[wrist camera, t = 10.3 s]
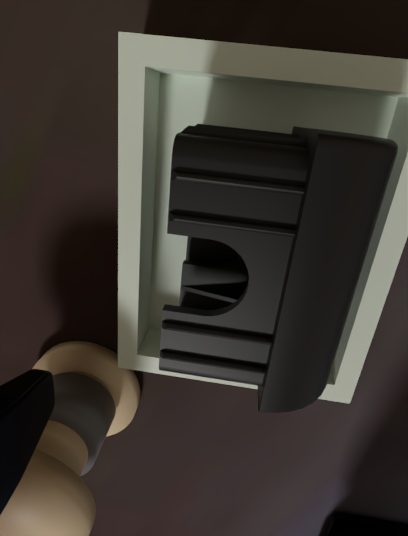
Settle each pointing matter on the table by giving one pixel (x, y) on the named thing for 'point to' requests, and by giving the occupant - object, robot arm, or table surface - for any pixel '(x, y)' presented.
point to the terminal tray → (254, 118)
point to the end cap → (269, 253)
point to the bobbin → (71, 441)
